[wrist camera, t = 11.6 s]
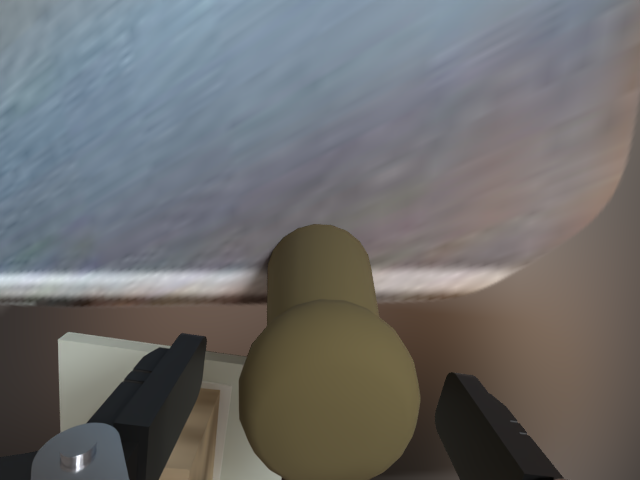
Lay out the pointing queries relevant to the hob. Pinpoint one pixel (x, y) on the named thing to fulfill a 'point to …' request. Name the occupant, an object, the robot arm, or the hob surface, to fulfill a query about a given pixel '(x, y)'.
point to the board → (119, 360)
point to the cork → (326, 366)
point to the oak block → (196, 441)
